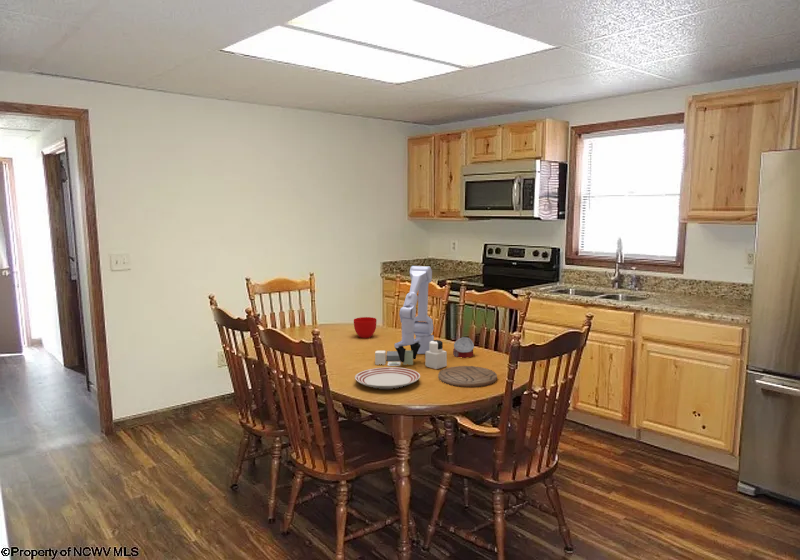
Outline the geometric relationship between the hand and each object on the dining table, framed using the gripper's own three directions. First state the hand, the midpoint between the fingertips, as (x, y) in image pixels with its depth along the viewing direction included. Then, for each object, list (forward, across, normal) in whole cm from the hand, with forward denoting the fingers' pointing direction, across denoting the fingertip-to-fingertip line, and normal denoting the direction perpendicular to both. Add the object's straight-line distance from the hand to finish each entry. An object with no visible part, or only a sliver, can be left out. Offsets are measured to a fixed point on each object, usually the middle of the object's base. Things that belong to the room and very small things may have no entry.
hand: (408, 360), depth 260 cm
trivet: (+2, -5, +34) cm, 34 cm away
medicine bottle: (+2, -7, +12) cm, 14 cm away
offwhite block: (+2, +10, -8) cm, 13 cm away
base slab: (+2, 0, -10) cm, 10 cm away
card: (+1, +6, -3) cm, 7 cm away
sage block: (+1, 0, 0) cm, 1 cm away
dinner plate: (+2, +24, +16) cm, 29 cm away
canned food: (+2, -30, +7) cm, 30 cm away
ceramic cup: (+2, -17, -58) cm, 60 cm away
